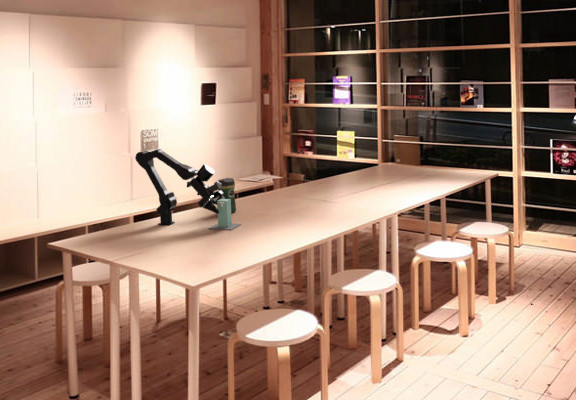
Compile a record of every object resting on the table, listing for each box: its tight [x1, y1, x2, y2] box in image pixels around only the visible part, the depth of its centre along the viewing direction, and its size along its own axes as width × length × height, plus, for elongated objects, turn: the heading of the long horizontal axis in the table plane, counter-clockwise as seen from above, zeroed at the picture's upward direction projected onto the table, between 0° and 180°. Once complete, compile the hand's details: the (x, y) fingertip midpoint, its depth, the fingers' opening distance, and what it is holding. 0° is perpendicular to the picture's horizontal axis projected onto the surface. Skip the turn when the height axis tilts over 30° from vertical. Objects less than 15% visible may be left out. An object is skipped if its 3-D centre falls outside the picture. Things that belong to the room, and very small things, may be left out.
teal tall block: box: [216, 199, 233, 227], centre depth 342 cm, size 5×5×13 cm
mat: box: [208, 223, 242, 231], centre depth 343 cm, size 12×12×1 cm
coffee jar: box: [217, 177, 237, 214], centre depth 377 cm, size 10×8×19 cm
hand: (222, 211), depth 342 cm, fingers open, 9 cm apart
